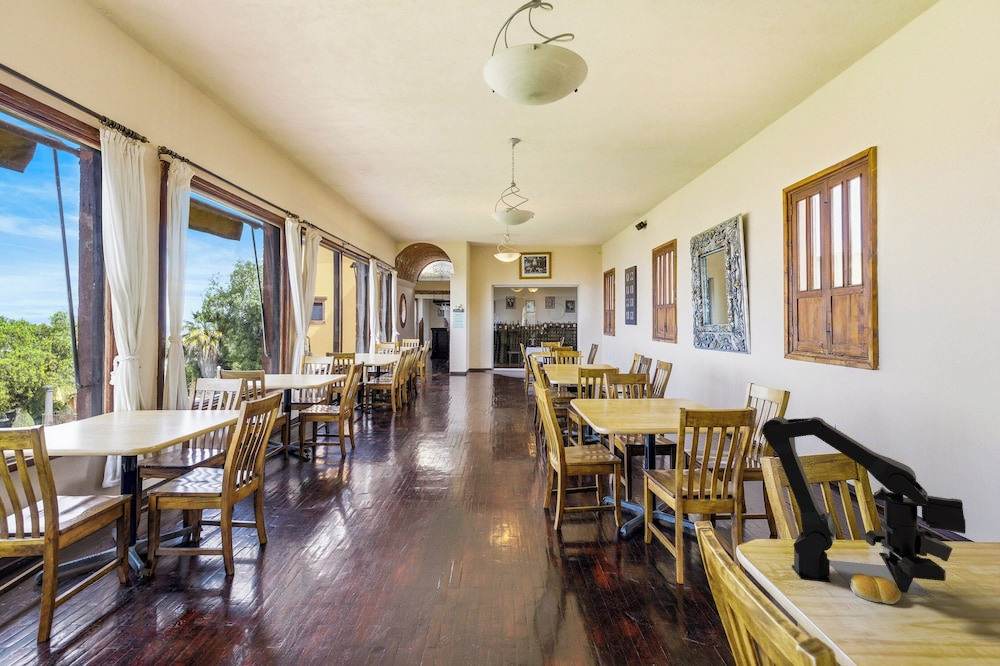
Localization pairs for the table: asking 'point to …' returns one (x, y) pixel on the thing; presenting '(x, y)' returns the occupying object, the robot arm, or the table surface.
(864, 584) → the bread roll
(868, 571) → the serving mat
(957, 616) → the table surface
